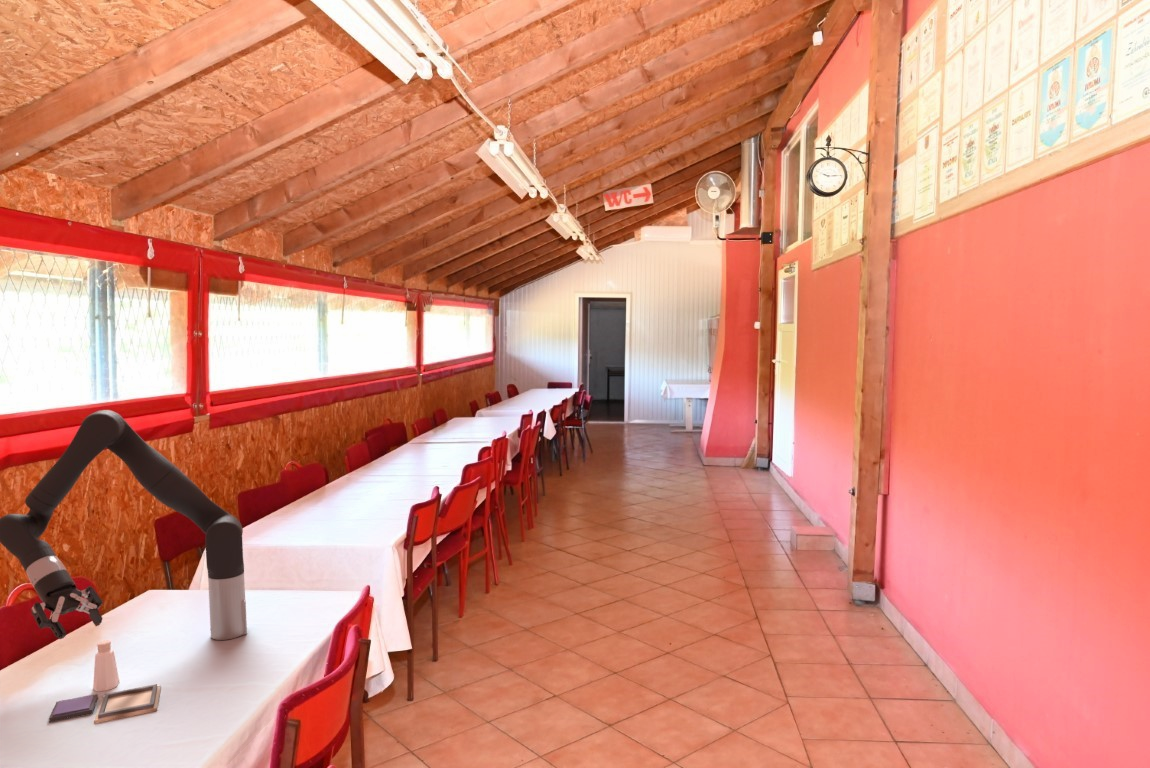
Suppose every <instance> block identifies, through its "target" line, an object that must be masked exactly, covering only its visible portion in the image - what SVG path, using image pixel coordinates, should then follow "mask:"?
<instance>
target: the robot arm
mask: <svg viewBox="0 0 1150 768" xmlns="http://www.w3.org/2000/svg"><path fill="white" fill-rule="evenodd" d="M105 449H108V450H109V451H110V452H111V453H113V454H114V455H115V456H116V457H118V458H119V459H120V460H121V461H122V462H123V463H124V464H125V465H126V466H127V467H128V469H129V471H130V472H131V473H132V475H133V477H135V479H136V480H137V481H138V483H139V484H140V485H141V486H142V487H143V488H144V490H145V491H146V492H148V493H149V494H150V495H152V496H153V497H154V498H155V499H156V500H158V501H159V502H160V503H161V504H163V505H165V506H166V507H168V508H170V509H171V510H173V511H175V512H177V513H179V514H181V515H183V516H185V517H186V518H188V519H189V520H191V522H193V523H194V524H195V525H196V526H197V527H198V528H199V529H200V530H201V531H202V532H203V534H205V537H204V538H205V539H204V540H205V541H204V542H205V543H204V544H205V559H206V561H205V562H206V569H207V570H206V571H207V582H208V601H209V602H208V603H209V604H208V605H209V606H208V607H209V623H210V624H209V625H210V630H209V631H210V638H211V639H213V640H217V641H223V640H224V641H225V640H231V639H236V638H238V637H241V636H244V635H247V634H248V627H247V626H248V624H247V623H248V621H247V606H246V604H247V603H246V602H247V601H246V586H245V584H246V583H245V563H244V552H243V551H244V549H243V548H244V547H243V545H244V544H243V534H244V529H243V528H244V527H243V525H242V523H241V522H240V520H239V519H238V518H237V517H236V516H234V515H232V514H230V513H229V512H228V511H226V510H225V509H223V508H222V507H221V506H220V505H218V504H217V503H215V502H214V501H213V500H212V499H211V498H209V497H208V496H207V495H206V494H205V493H204V492H203V491H202V490H201V488H200V487H198V485H197V484H196V483H194V482H193V481H192V480H191V478H189V477H188V476H187V475H186V474H185V473H184V472H183V471H182V470H180V468H178V466H176V465H175V464H174V463H173V462H171V460H169V459H168V458H166V457H165V456H164V455H163V454H161V453H160V452H159V451H158V450H156V449H155V448H154V447H152V446H151V445H149V444H148V443H147V442H146V441H145V440H144V439H143V438H142V437H141V436H140V435H139V434H138V433H137V432H136V431H135V430H134V429H133V427H132V426H131V425H130V424H129V423H128V422H127V421H126V420H125V419H124V418H123V416H121V414H119V413H118V412H115V411H113V410H111V409H101V410H97V411H95V412H92V413H90V414H89V415H87V416H85V418H83V420H82V421H81V424H80V426H79V428H78V430H77V431H76V433H75V435H74V437H73V438H72V440H71V441H70V444H69V445H68V447H67V448H66V449H65V451H64V452H63V454H62V455H61V456H60V458H58V460H57V461H56V462H55V463H54V465H53V466H51V467H50V468H49V470H48V471H47V472H46V473H45V474H44V476H43V477H42V478H40V480H39V481H38V483H36V485H35V486H34V488H32V490H31V491H30V492H29V493H28V495H27V496H26V498H25V500H24V503H25V506H27V508H29V511H28V512H27V513H26V514H22V513H8V514H5V515H3V516H1V517H0V543H1V545H2V546H3V547H4V548H6V550H7V551H8V552H9V553H10V554H12V556H14V557H15V558H16V559H17V560H18V561H19V563H20V565H21V567H22V568H23V569H24V571H25V573H26V575H27V578H28V581H29V582H30V584H31V586H32V587H33V589H34V590H35V592H36V594H37V596H38V598H39V599H40V601H41V602H37V601H36V602H35V603H34V604H33V606H32V607H31V609H30V612H31V614H32V616H33V619H34V620H35V622H36V624H37V626H38V628H39V629H44V628H49V629H50V630H51V631H52V633H53V634H54V636H55V637H56V638H57V639H59V640H62V639H64V638H65V637H66V635H67V632H66V630H65V629H64V626H63V625H62V623H61V621H58V620H59V617H60V615H61V616H63V615H66V614H67V613H72V612H74V611H78V612H84V613H86V614H88V616H89V618H90V620H91V621H92V623H93V625H94V627H99V626H100V625H101V623H102V622H103V615H102V614H101V613H100V611H99V609H100V608H101V606H102V605H103V603H104V601H103V600H102V598H101V597H100V595H99V594H98V593H97V592H96V590H95V588H94V587H93V586H91V585H88V586H87V587H86V588H85V589H81V590H80V589H78V588H77V586H76V582H75V581H74V580H73V578H72V576H71V575H70V573H69V571H68V570H67V568H66V566H65V565H64V563H63V562H62V561H61V559H59V557H58V556H57V555H56V553H55V551H54V549H53V548H52V546H51V545H50V544H49V543H48V541H45V540H43V539H40V537H41V536H43V534H44V533H45V531H46V529H47V528H48V525H49V524H50V521H51V519H52V517H53V513H54V511H56V509H57V507H58V506H59V505H60V503H62V501H63V500H64V499H65V497H66V496H67V495H68V494H69V493H70V491H71V490H72V489H73V487H74V485H75V484H76V483H77V481H78V480H79V479H80V476H81V475H82V474H83V472H84V471H85V470H86V468H87V467H88V466H89V465H90V463H91V462H92V461H93V460H94V459H95V458H96V457H97V456H98V455H100V453H102V452H103V451H104V450H105ZM80 604H81V605H80ZM45 609H46V610H48V611H50V616H49V618H48V616H47V615H46V612H45Z"/></svg>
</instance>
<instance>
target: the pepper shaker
mask: <svg viewBox="0 0 1150 768" xmlns="http://www.w3.org/2000/svg"><path fill="white" fill-rule="evenodd" d="M111 644H112V641H111V640H106V639H105V640H101V641H99V642H98V643H97V644H96V646H97V653H95V656H94V667H93V669H94V671H93V685H92V689H93V690H94V691H96V692H107V691H109V690H112V689H115V688H117V687H118V685H119V684H120V678H119V670H118V667H117V660H116V656H115V652H114V650H113V649H112V648H111V646H112V645H111Z"/></svg>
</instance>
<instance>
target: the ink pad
mask: <svg viewBox="0 0 1150 768" xmlns="http://www.w3.org/2000/svg"><path fill="white" fill-rule="evenodd" d="M98 698H99V694H98V693H95V694H89V695H85V696H79V697H74V698H69V699H64V700H63V699H62V700H58V701H56V702H55V704H54V706H53V708H52V710H51V712H50V714H49V717H48V722H49V723H53V722H59V721H64V720H68V719H69V720H70V719H73V718H78V717H79V718H80V717H85V716H89V715H93V713H94V711H95V708H96V705H97V702H98Z"/></svg>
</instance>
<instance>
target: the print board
mask: <svg viewBox="0 0 1150 768" xmlns="http://www.w3.org/2000/svg"><path fill="white" fill-rule="evenodd" d="M161 691H162V685H158V684H157V683H156V684H150V685H145V686H141V687H135V688H129V689H124V690H119V691H113V692H108V693H105V694H104V695H103V696H101V699H100V701H99V705H98V706H97V710H96V714H95V717H94V719H93V723H94V724H98V723H102V722H108V721H112V720H119V719H123V718H127V717H133V716H137V715H143V714H147V713H152V712H156V711H158V708H159V702H160V695H161Z"/></svg>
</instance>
